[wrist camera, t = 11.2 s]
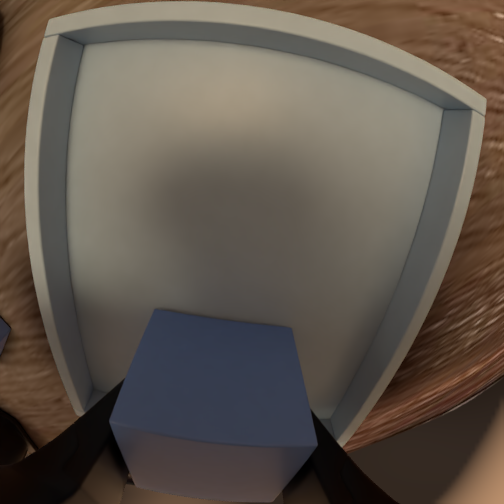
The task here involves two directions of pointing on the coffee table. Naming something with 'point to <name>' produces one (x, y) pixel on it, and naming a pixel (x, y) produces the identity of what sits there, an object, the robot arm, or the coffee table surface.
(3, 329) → the blue block
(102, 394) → the tray
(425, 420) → the coffee table surface
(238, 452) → the blue block
